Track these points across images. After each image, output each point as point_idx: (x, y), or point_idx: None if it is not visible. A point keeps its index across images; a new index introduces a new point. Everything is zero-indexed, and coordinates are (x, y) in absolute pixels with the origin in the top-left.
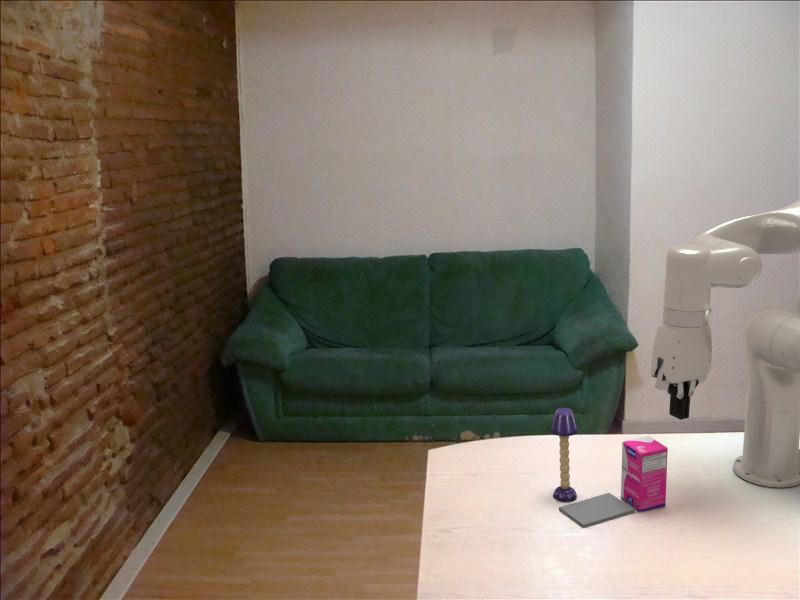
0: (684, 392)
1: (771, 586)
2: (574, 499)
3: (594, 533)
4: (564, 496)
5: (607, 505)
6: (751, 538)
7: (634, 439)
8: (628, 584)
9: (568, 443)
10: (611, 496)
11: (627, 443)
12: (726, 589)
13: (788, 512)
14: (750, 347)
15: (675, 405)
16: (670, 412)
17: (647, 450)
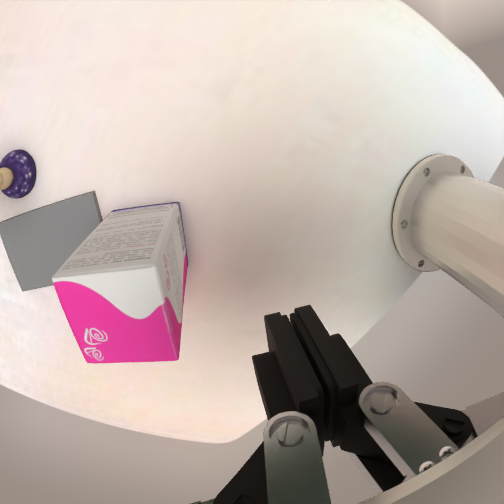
0: (346, 447)
1: (215, 437)
2: (26, 194)
3: (37, 306)
4: (7, 195)
5: (71, 243)
6: None
7: (93, 279)
8: (65, 402)
9: None
10: (90, 210)
11: (62, 298)
12: (165, 433)
13: (363, 329)
14: None
15: (266, 412)
16: (267, 326)
17: (110, 355)
